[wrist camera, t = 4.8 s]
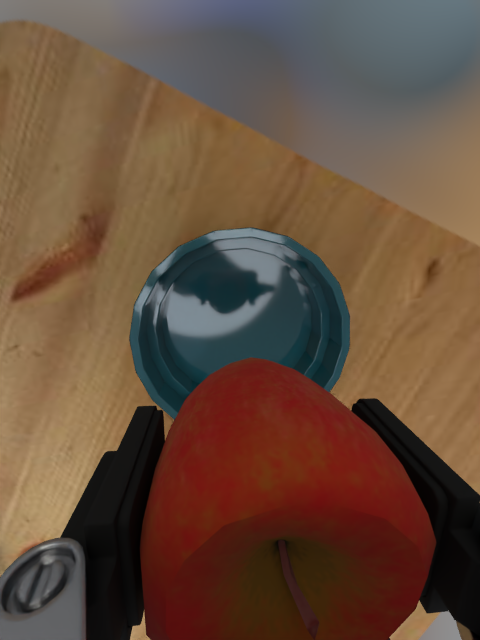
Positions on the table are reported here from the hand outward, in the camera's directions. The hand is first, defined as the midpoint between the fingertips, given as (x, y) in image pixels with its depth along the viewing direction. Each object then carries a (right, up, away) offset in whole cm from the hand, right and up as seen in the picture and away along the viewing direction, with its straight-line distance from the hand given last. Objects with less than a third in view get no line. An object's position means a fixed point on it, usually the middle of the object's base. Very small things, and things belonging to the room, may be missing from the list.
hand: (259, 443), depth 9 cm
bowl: (-1, +4, +15) cm, 16 cm away
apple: (0, +1, +3) cm, 3 cm away
